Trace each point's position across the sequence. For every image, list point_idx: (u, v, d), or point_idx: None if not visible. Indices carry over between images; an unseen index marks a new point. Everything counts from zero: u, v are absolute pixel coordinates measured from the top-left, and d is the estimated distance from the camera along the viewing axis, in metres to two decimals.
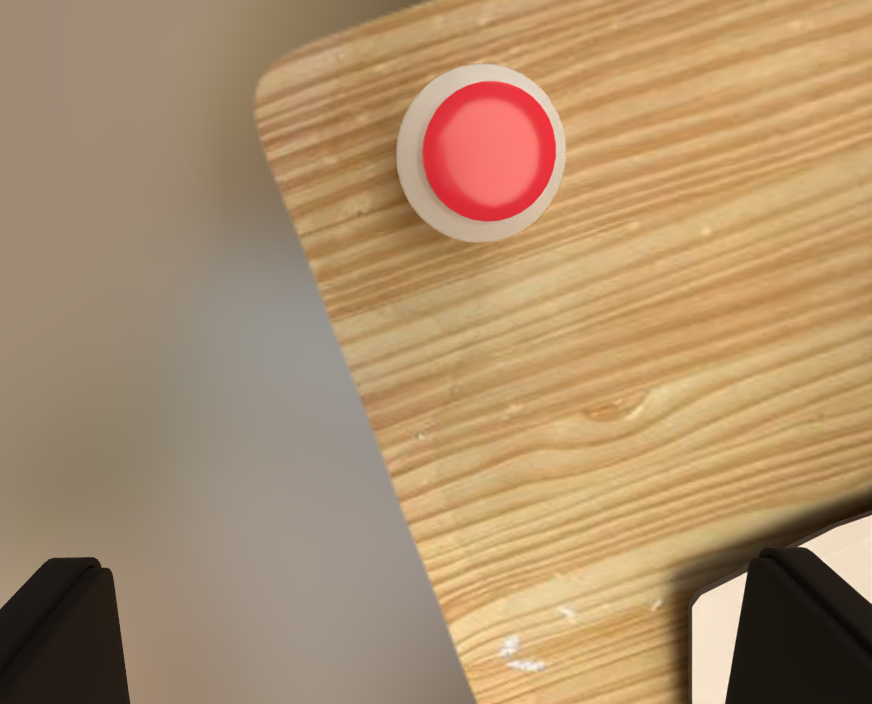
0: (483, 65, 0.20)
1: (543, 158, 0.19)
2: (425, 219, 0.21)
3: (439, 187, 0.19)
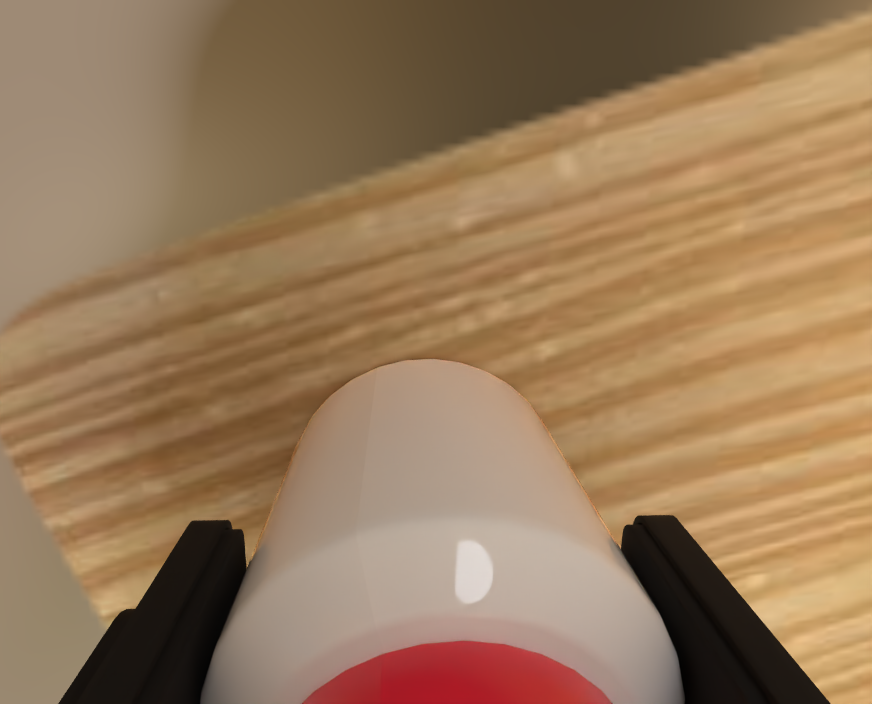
0: (446, 532, 0.07)
1: None
2: None
3: None
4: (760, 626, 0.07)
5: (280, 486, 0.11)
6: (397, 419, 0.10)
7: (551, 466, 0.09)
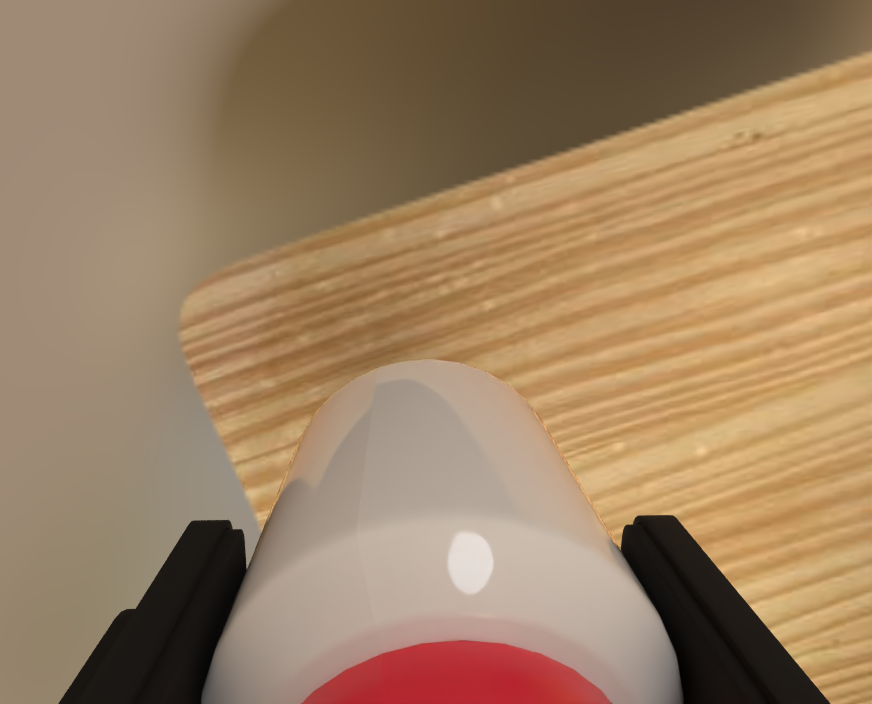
0: (446, 532, 0.07)
1: None
2: None
3: None
4: (760, 626, 0.07)
5: (280, 486, 0.11)
6: (397, 420, 0.10)
7: (550, 466, 0.09)
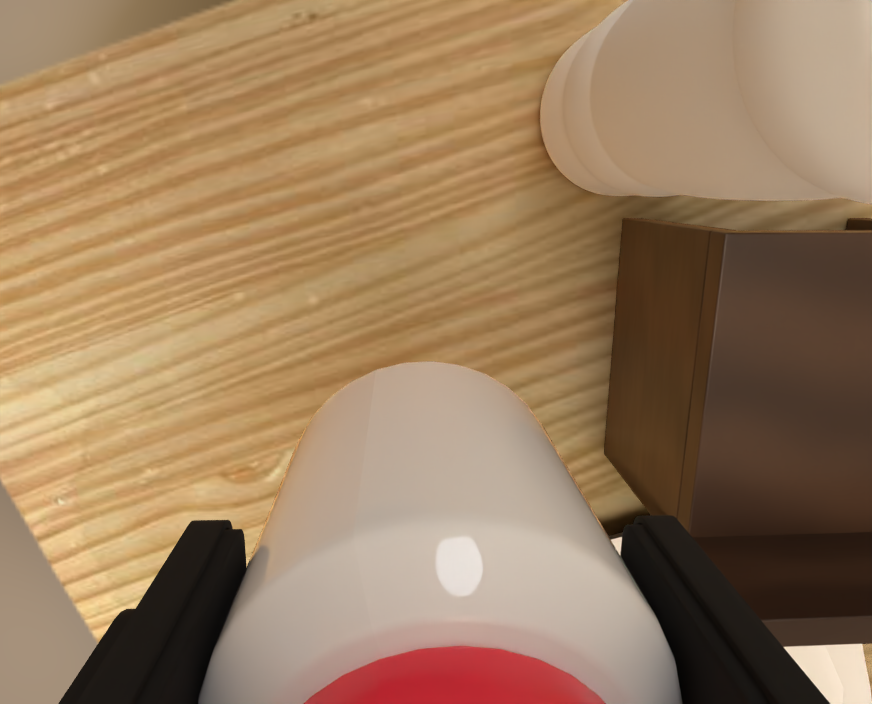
0: (443, 537, 0.07)
1: None
2: None
3: None
4: (760, 626, 0.07)
5: (279, 489, 0.11)
6: (395, 422, 0.10)
7: (549, 470, 0.09)
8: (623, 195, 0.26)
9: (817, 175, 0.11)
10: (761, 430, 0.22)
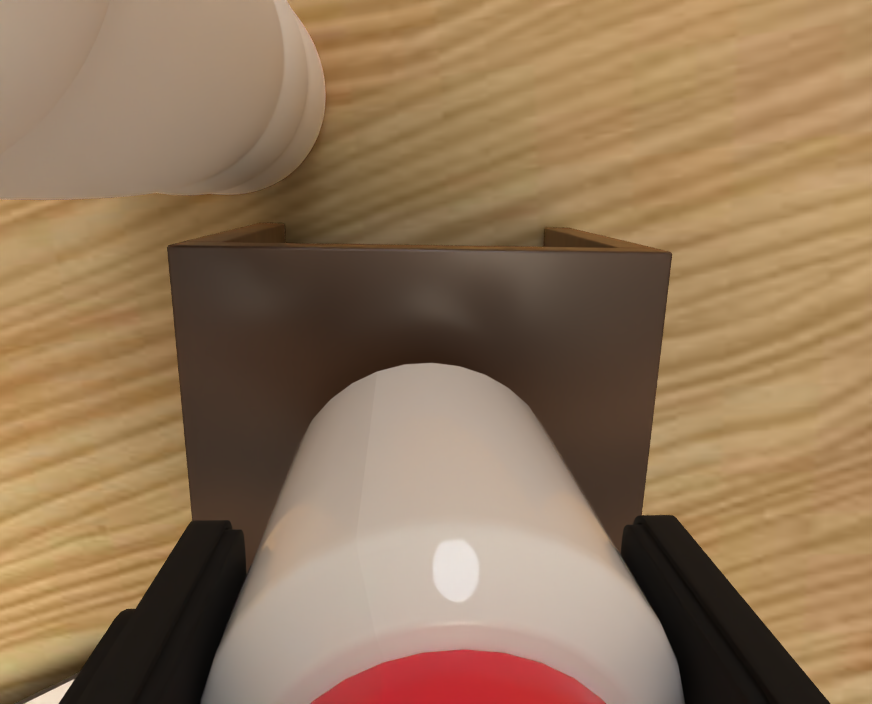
0: (446, 540, 0.07)
1: None
2: None
3: None
4: (760, 626, 0.07)
5: (280, 491, 0.11)
6: (397, 424, 0.10)
7: (551, 472, 0.09)
8: (211, 193, 0.21)
9: None
10: None
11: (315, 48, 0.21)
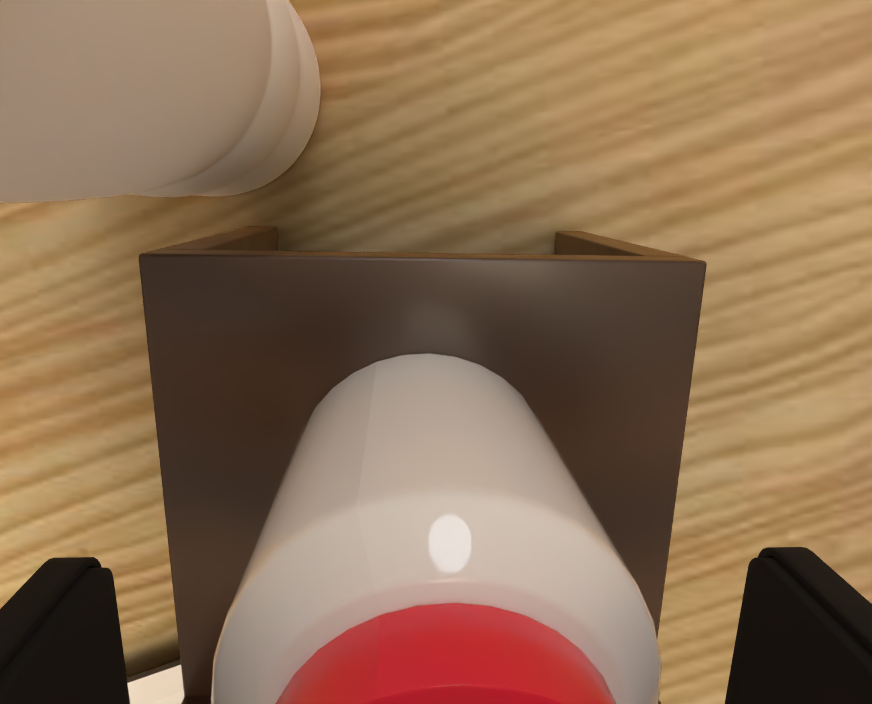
0: (439, 506, 0.07)
1: None
2: None
3: None
4: None
5: (285, 472, 0.11)
6: (395, 408, 0.10)
7: (540, 451, 0.10)
8: None
9: None
10: None
11: (309, 37, 0.19)
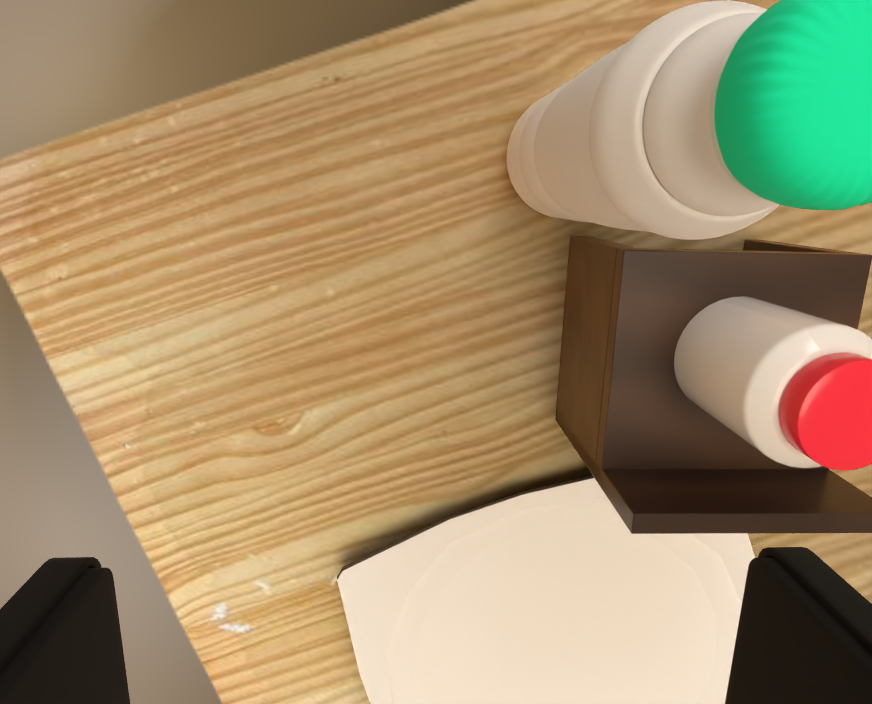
0: (832, 327, 0.23)
1: None
2: (763, 450, 0.24)
3: (808, 444, 0.22)
4: None
5: (707, 341, 0.27)
6: (769, 310, 0.26)
7: None
8: None
9: (634, 220, 0.20)
10: (653, 390, 0.30)
11: None
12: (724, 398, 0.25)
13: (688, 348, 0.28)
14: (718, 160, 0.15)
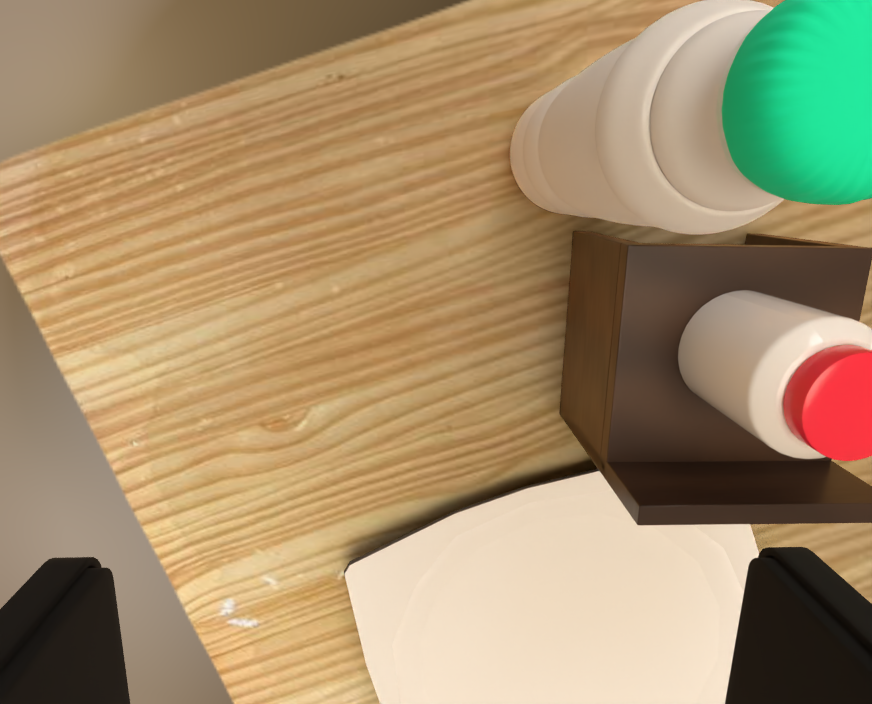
0: (835, 320, 0.23)
1: None
2: (767, 442, 0.24)
3: (812, 435, 0.22)
4: None
5: (711, 334, 0.27)
6: (772, 303, 0.26)
7: None
8: (570, 214, 0.35)
9: (640, 216, 0.20)
10: (657, 384, 0.30)
11: None
12: (728, 391, 0.25)
13: (692, 342, 0.29)
14: (725, 156, 0.15)
